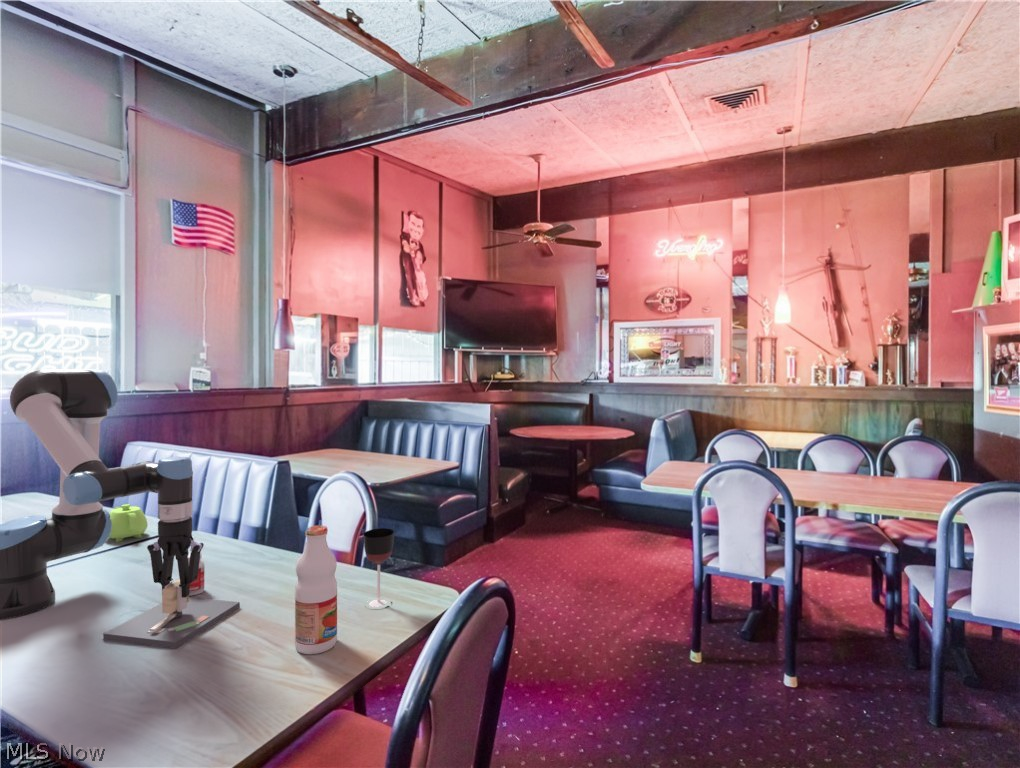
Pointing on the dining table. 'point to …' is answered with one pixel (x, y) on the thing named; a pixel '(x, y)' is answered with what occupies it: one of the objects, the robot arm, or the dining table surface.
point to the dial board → (172, 623)
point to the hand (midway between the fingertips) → (175, 609)
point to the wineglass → (378, 553)
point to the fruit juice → (316, 595)
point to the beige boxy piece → (169, 604)
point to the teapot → (127, 522)
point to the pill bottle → (198, 584)
